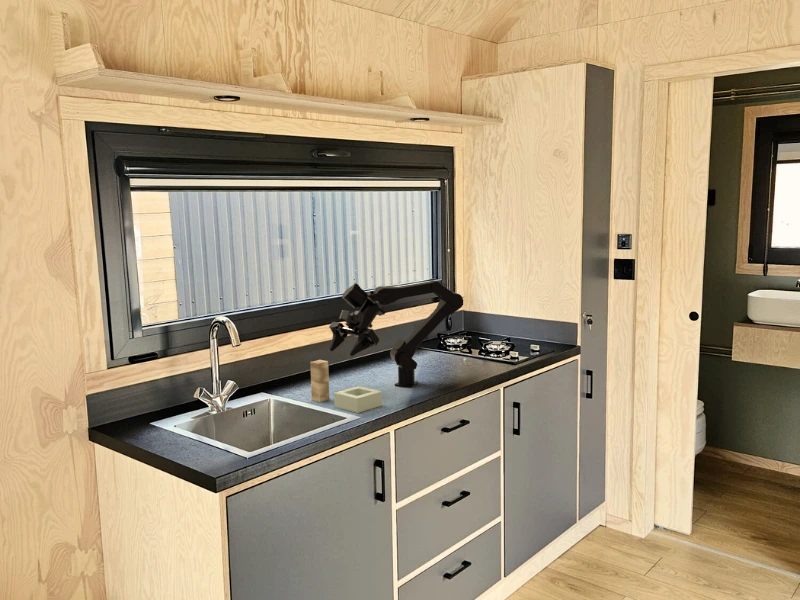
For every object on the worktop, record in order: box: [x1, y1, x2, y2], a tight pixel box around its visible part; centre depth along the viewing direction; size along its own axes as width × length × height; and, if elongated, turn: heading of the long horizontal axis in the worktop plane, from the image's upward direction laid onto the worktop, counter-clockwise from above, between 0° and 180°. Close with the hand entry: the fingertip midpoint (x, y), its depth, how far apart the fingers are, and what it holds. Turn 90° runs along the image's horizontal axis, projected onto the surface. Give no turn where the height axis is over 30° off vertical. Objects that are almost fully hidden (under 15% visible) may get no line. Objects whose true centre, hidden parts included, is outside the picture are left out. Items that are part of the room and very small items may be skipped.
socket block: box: [333, 385, 383, 414], centre depth 222 cm, size 10×10×4 cm
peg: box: [309, 359, 330, 403], centre depth 230 cm, size 4×4×12 cm
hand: (340, 353), depth 233 cm, fingers open, 9 cm apart
